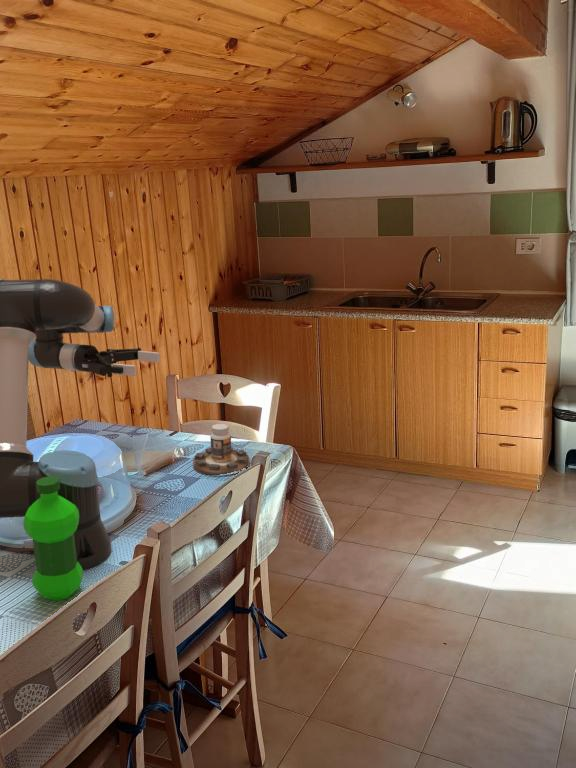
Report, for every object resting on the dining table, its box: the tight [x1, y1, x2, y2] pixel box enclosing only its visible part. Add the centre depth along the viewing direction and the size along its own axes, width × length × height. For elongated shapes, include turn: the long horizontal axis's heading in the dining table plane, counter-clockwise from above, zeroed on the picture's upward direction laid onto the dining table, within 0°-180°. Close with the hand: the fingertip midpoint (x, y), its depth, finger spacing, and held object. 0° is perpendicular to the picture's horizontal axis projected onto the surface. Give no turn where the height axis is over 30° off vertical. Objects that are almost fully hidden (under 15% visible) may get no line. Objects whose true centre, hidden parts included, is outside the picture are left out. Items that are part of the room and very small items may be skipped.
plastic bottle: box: [22, 476, 84, 602], centre depth 150 cm, size 10×10×25 cm
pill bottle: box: [209, 423, 232, 462], centre depth 213 cm, size 6×6×10 cm
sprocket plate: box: [192, 446, 251, 476], centre depth 215 cm, size 16×16×2 cm
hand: (147, 364), depth 206 cm, fingers open, 13 cm apart
